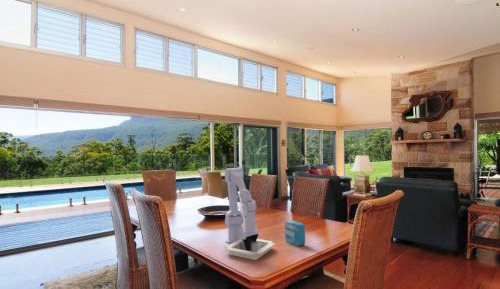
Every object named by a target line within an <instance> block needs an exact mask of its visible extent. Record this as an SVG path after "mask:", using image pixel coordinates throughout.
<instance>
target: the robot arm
mask: <svg viewBox="0 0 500 289" xmlns="http://www.w3.org/2000/svg"><path fill="white" fill-rule="evenodd" d="M224 180H225V181H224V182H225V183H227V193H228V206H229V209H228V211H227V212H226V213H225V218H224V223H225V224H224V225H225V226H226V227H227V228H228V230H227V231H228V233H227V234H228V239H227V240H226V241H225V243H229V244H231V243H233V242H235V241H237V240H239V239H241V238H242V240H243V242H244V244H245V248H246V251H250V248H251V241H254V242H256V240H257V239H259V238H258V237H259V234H258V233H259V229H258V228H256V212H257V210H258V204H257V201H256V200H255V199H253V198H252V195H251V193H250V191H249V190H248V189H247V187H246V184H245V181H244V170H243V168H242V167H231V168H230V167H229V168H228V167H227V168H226V169H225V171H224ZM237 188H238V190H239V198H240V199H241V200H240V201H241V202H242V203H241V204H242V207H241V208H242V211H243V212H241V211H240V210H239V208H238V206H239V205H238V196H237V194H238V193H237ZM243 216H244V217H243ZM243 223H244V227H243V226H242V225H243Z"/></svg>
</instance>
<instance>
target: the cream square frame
mask: <svg viewBox="0 0 500 289" xmlns="http://www.w3.org/2000/svg"><path fill="white" fill-rule="evenodd" d="M241 241H243V240H242V238H241V239H239V240H237V241H235V242H233V243H229V244H228V245H225V247H224V248H225V250H226V251H228V255H229V256H235V257H239V258H244V259H249V260H252V261H253V260H254V261H257V260H258V259H259V258H261V257H262V256H264V255H265V254H267V253H268V252H270V251H271V250H272V247H273V246H275V245H276V243H274V241H272V240H267V239H261V238H257V240H256V242H259V243H261V249H260V250H258V251H257V252H251V251H246V250H240V242H241Z"/></svg>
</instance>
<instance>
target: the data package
mask: <svg viewBox="0 0 500 289" xmlns="http://www.w3.org/2000/svg"><path fill="white" fill-rule="evenodd" d="M284 234H285V236H284V237H285V238H284V239H285V241H286V243H290V244H292V245H294V246H297V247H301V246H303V245H306V226H305V224H304V223H302V222H299V221H295V220H287V221H285V223H284Z"/></svg>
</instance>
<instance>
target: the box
mask: <svg viewBox="0 0 500 289" xmlns="http://www.w3.org/2000/svg"><path fill="white" fill-rule="evenodd" d="M260 249H261V243H259V242H254V241H251V248H250V251H251V252H257V251H258V250H260ZM240 250H246V248H245V244H244V242H243V241H241V242H240Z"/></svg>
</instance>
